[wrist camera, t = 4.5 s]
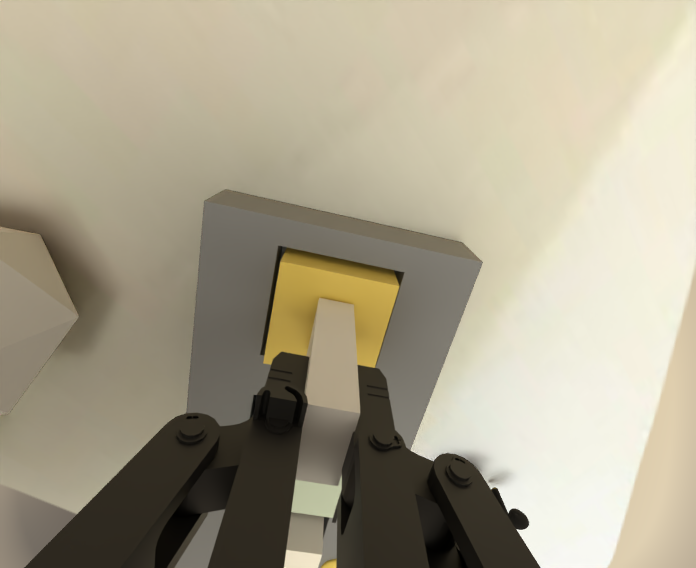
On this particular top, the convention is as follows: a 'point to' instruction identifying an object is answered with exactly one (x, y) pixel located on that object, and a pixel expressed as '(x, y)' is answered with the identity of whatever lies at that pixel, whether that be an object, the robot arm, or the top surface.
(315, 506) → the sage key
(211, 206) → the key panel
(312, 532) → the ivory key
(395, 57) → the top surface
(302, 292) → the mustard key
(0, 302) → the die
